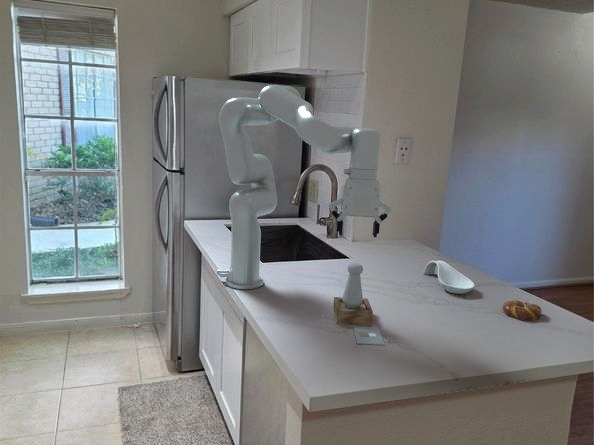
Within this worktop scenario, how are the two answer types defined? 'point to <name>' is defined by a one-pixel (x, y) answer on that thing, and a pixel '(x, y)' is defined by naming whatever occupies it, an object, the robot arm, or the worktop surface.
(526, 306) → the pretzel
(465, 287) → the spoon rest
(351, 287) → the salt shaker
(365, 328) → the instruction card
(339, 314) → the wooden crate
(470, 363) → the worktop surface
